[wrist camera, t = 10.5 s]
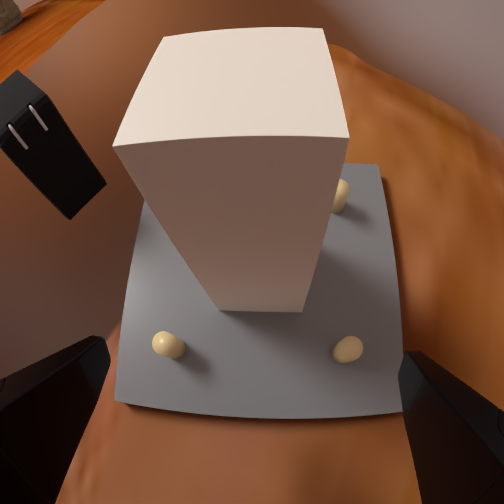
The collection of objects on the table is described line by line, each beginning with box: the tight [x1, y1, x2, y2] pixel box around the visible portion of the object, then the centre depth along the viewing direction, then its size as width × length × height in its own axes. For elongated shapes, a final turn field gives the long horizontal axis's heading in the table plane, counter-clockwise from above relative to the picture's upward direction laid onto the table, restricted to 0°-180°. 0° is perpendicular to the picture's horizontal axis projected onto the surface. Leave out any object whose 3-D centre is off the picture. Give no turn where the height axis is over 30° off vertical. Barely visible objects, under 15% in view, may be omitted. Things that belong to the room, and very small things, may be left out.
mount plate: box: [114, 163, 403, 419], centre depth 18 cm, size 16×16×3 cm
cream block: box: [112, 27, 349, 312], centre depth 12 cm, size 4×4×13 cm
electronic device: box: [0, 70, 106, 220], centre depth 20 cm, size 4×10×10 cm, turn 48°
